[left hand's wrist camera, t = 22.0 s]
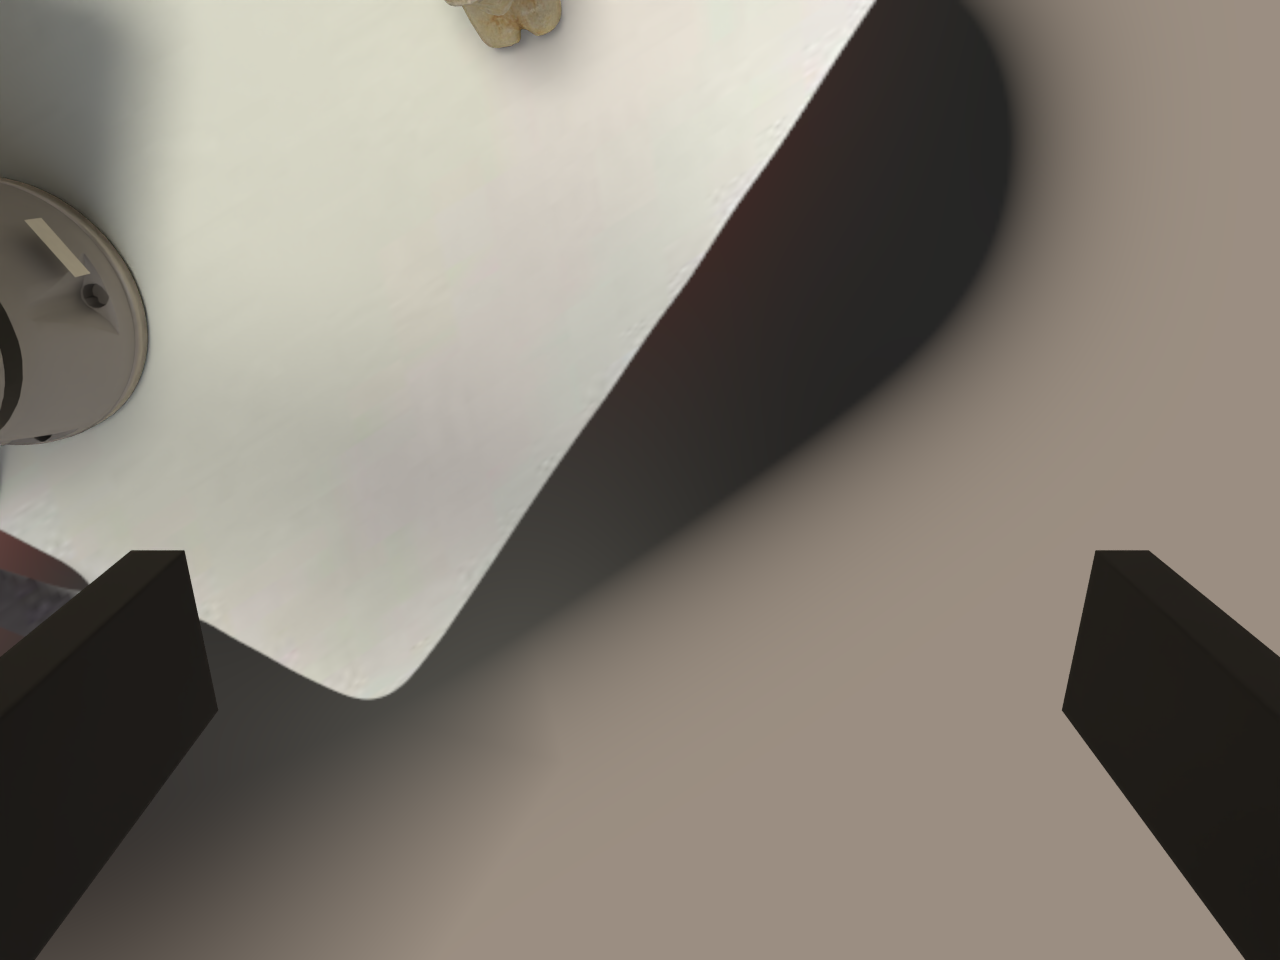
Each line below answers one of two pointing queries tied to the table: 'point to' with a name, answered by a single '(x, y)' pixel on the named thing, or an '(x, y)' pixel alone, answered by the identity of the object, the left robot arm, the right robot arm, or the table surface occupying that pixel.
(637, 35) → the table surface
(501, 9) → the sculpture
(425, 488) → the table surface
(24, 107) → the table surface
